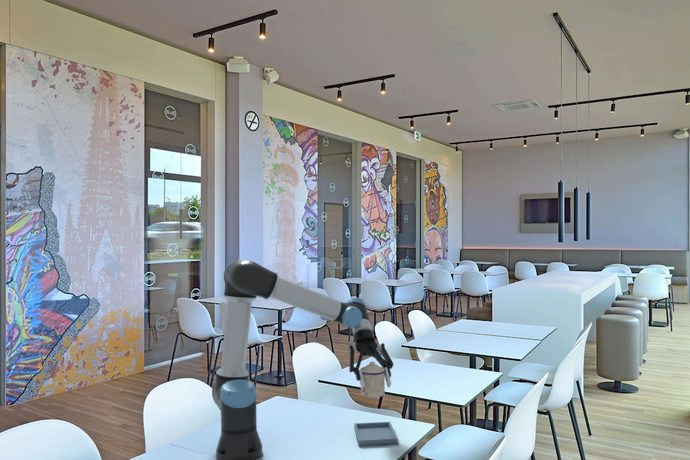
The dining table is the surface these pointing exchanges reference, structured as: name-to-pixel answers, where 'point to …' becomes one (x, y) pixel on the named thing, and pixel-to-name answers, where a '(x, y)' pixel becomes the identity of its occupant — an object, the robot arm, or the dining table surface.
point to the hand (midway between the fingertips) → (376, 386)
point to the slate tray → (375, 434)
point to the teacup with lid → (373, 380)
